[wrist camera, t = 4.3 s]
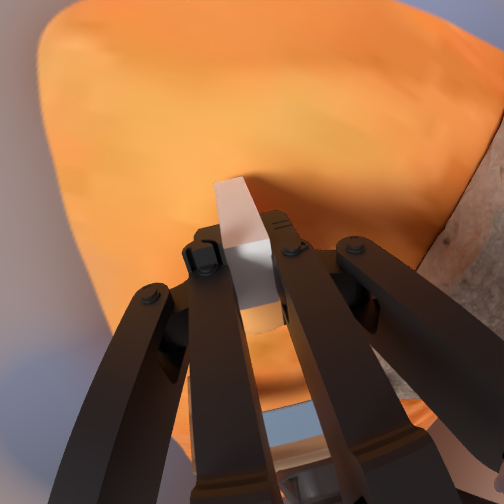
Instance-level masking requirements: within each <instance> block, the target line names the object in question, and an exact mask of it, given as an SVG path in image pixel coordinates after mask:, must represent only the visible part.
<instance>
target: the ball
mask: <svg viewBox="0 0 504 504" xmlns="http://www.w3.org/2000/svg"><path fill="white" fill-rule="evenodd" d="M278 296H279V295H278ZM240 313H241V316H242V320H243V325H244V330H245V333H247V334H261V333H266V332H269V331H272V330H275V329H276V328H278V327H280V326H282V325H283V324H284V321H283V314H282V308H281V301H280V297H279V301H278V302H274V303H270V304H266V305H261V306H257V307H253V308H249V309H244V310H240Z"/></svg>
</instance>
